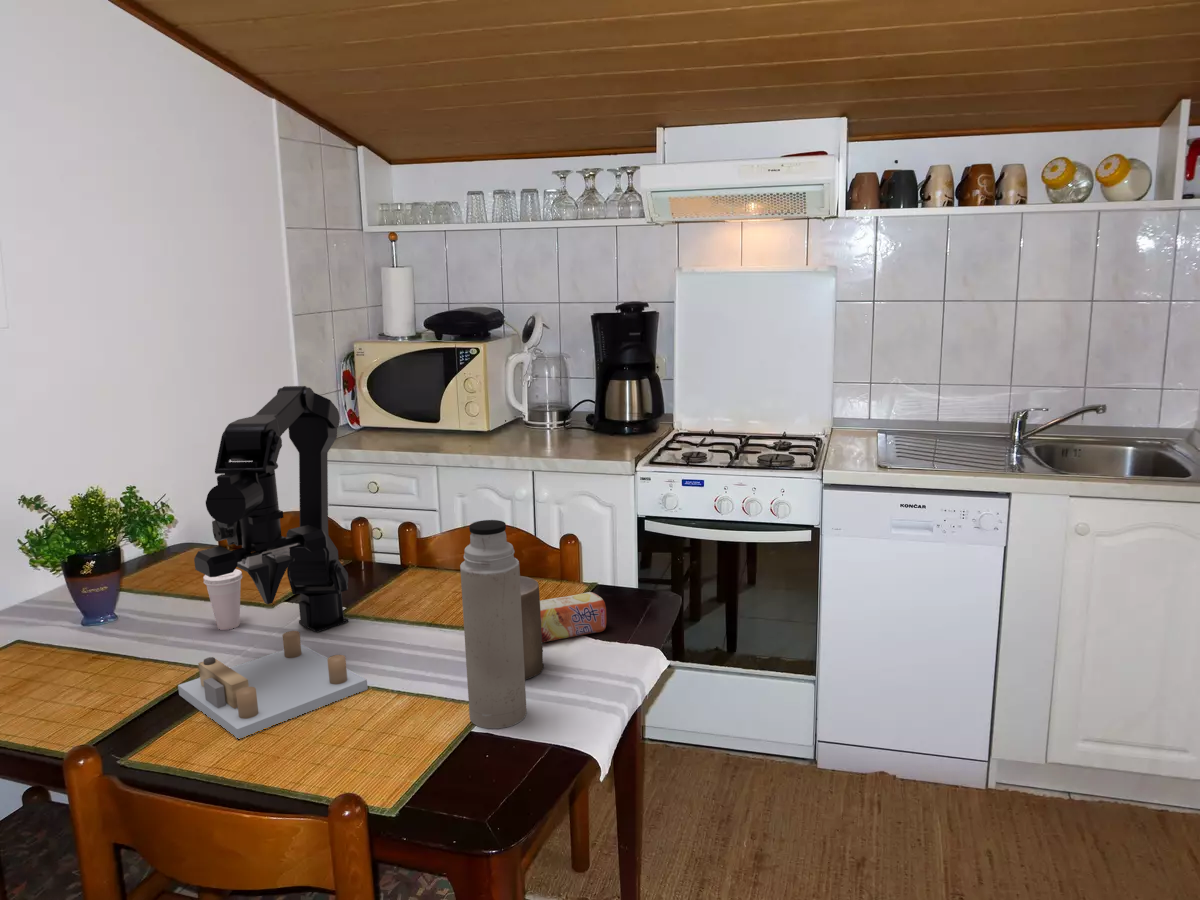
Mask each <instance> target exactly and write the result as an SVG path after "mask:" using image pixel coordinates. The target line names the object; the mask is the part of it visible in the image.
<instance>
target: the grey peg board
mask: <svg viewBox="0 0 1200 900" xmlns="http://www.w3.org/2000/svg"><path fill="white" fill-rule="evenodd" d="M300 634H301V633H300V632H299V631H297V630H291V631H286V632H284V633H283V634H282V642H283V649H282V650H278V651H276V652H273V653H269V654H267V655H264V656H261V657H258V658H255V659H252V660H248V661H246V662H243V663H240V664H237V665H234V666H231V667H230V668H231V669H232V670H234V671H235V672H237V673H238V674H240V675H241V676H243V677H244V678H246V679H248V685H249V687H244V688H241V689H239V690H237V691H236V697H237V706H238V707H237V708H233V707H231V706H230V705H229V704H227V703H226V701H225V693H224V686H223V685H222V684H220V683H219V682H217V681H216V680H214V679H213V678H209V679H206V680H203V681H204V687H203V686H202V685H201V681H200V677H197V678H195V679H192V680H190V681H186V682H182V683H180V684H177V688H178V689H177V690H178V694H179V696H180V697H181V698H183V699H184V700H185V701H186V702H188V703H189V704H190V705H192V706H194V708H196V709H197V710H198V711H200V712H201V711H202V712H203V713H202V712H201V713H202V714H203V715H205V714H206V715H207V718H209V717H210V718H211V719H210V718H209V719H210V720H212V719H213V720H214V721H215V722H217V723H218V724H219V725H221V726H222V727H223V728H225V729H226V730H227V731H229V732H230V733H231V734H233V735H234V736H235V737H236V738H235V737H234V736H233V735H232V736H233V737H234V738H235V739H237V738H238V739H239V738H243V737H245V736H247V735H250V734H253V733H255V732H257V731H260V730H263V729H264V728H268V727H271V726H272V725H275V724H278V723H280V722H283V721H286V722H288V721H287V720H288V719H291V718H294V717H296V718H298V717H297V716H299V715H301V716H303V715H302V714H304V713H306V714H308V713H307V712H309V711H311V712H313V711H312V710H314V711H316V710H315V709H317V708H319V707H322V706H324V707H326V706H325V705H327V706H329V705H331V704H330V703H332V702H334V703H336V702H335V701H337V702H339V701H341V700H340V699H342V700H344V699H343V698H345V697H347V698H349V697H348V696H350V697H352V696H354V695H353V694H355V695H356V693H357V694H359V692H360V693H362V692H364V691H367V690H368V679H366V678H365V677H363V676H361V675H360V674H357V673H356V672H354V671H352V670H350V669H349V668H347V660H346V655H343V654H335V655H331V656H329V657H327V656H325V655H323V654H321V653H319V652H317V651H315V650H313V649H311V648H309V647H308V646H306V645H304V644H302V643H301V642H302V641H301V635H300ZM351 695H352V696H351ZM345 699H346V698H345ZM338 700H339V701H338ZM328 704H329V705H328ZM332 704H333V703H332ZM322 708H323V707H322ZM319 709H320V708H319ZM317 710H318V709H317ZM309 713H310V712H309ZM206 715H205V716H206ZM304 715H305V714H304ZM299 717H300V716H299ZM294 719H295V718H294ZM213 720H212V721H213ZM291 720H292V719H291ZM214 721H213V722H214ZM215 722H214V723H215ZM217 723H216V724H217ZM283 723H284V722H283ZM218 724H217V725H218ZM219 725H218V726H219ZM278 725H279V724H278ZM221 726H220V727H221ZM222 727H221V728H222ZM223 728H222V729H223ZM271 728H272V727H271ZM225 729H224V730H225ZM268 729H269V728H268ZM226 730H225V731H226ZM227 731H226V732H227ZM263 731H264V730H263ZM229 732H228V733H229ZM260 732H261V731H260ZM230 733H229V734H230ZM231 734H230V735H231ZM255 734H256V733H255ZM253 735H254V734H253ZM250 736H251V735H250ZM245 738H246V737H245ZM238 739H237V740H238ZM243 739H244V738H243Z"/></svg>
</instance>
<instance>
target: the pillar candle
mask: <svg viewBox="0 0 1200 900" xmlns="http://www.w3.org/2000/svg"><path fill="white" fill-rule="evenodd" d="M520 589H521V610H522V630H523V651H524V671H525V680H528V679H530V678H533V677H535V676H536V677H537V676H538V675H540V674H541V673H542V672H543V671H544V668H545V664H544V658H543V657H544V656H543V652H544V649H543V643H542V632H541V612H540V601H541V599H540V597H541V596H540V584H539V581H537V580H536V579H534V578H531V577H529V576H523V575H520Z"/></svg>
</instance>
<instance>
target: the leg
mask: <svg viewBox="0 0 1200 900" xmlns="http://www.w3.org/2000/svg"><path fill="white" fill-rule="evenodd" d="M198 672H199V678H200V681H201V685H202V686H203V687H204V681H203V680H206V679H209V678H213V679H214V680H216V681H217V682H219V683H220V684H222V685H223V686H224V693H225V701H226V703H227V704H229V705H230V706H231V707H233V708H237V707H238V706H237V697H236V691H237V690H239V689H241V688H244V687H249V685H248V679H246V678H244V677H243V676H241V675H240V674H238V673H237V672H235V671H234V670H232V669H231V667H229V666H228V665H226V664H224V663H223V662H221V661H220V660H219V659H217V658H216V657H214V656H212V657H211V656H210V657H206V658H204V659H203V661H200V662H198Z"/></svg>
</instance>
